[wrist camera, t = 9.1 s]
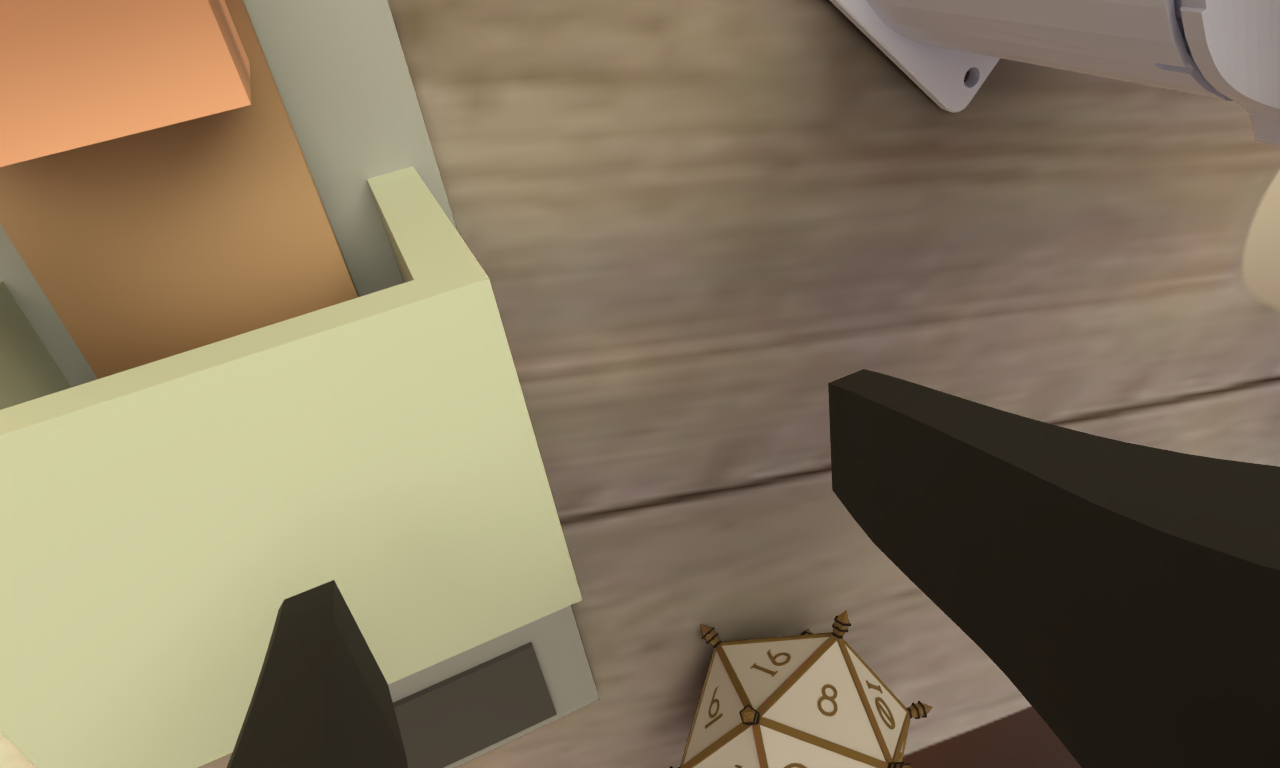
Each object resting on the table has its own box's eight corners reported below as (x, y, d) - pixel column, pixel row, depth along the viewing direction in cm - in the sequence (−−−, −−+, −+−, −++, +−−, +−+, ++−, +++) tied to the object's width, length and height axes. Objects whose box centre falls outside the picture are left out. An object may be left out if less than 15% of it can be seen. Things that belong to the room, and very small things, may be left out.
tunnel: (-48, 285, 16) (-223, 506, 10) (408, 159, 18) (489, 278, 12) (132, 544, 20) (84, 816, 14) (490, 414, 22) (582, 599, 16)
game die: (657, 622, 34) (584, 865, 26) (779, 506, 29) (736, 761, 21) (832, 730, 35) (815, 998, 27) (978, 635, 30) (1012, 928, 22)
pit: (304, 742, 24) (304, 747, 24) (531, 641, 25) (532, 646, 25) (346, 806, 26) (347, 813, 26) (555, 709, 27) (557, 714, 27)
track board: (-760, -656, 9) (-816, -687, 9) (177, -673, 12) (175, -699, 11) (303, 821, 26) (304, 838, 26) (593, 686, 29) (599, 699, 28)
